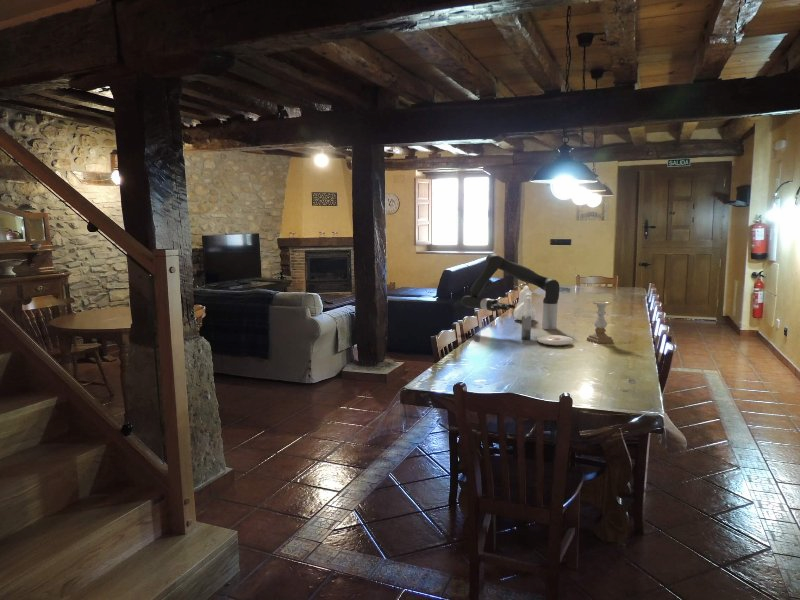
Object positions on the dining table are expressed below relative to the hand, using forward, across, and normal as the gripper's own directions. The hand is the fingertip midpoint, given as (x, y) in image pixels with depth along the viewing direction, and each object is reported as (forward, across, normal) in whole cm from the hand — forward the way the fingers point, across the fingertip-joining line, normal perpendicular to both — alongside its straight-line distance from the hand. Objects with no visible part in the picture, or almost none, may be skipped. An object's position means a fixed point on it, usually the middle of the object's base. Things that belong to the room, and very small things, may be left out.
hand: (510, 307), depth 347 cm
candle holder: (+47, +24, +18) cm, 56 cm away
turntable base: (+30, +1, +18) cm, 35 cm away
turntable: (+30, +1, +17) cm, 35 cm away
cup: (+11, 0, +18) cm, 21 cm away
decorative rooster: (-21, +51, +18) cm, 58 cm away
